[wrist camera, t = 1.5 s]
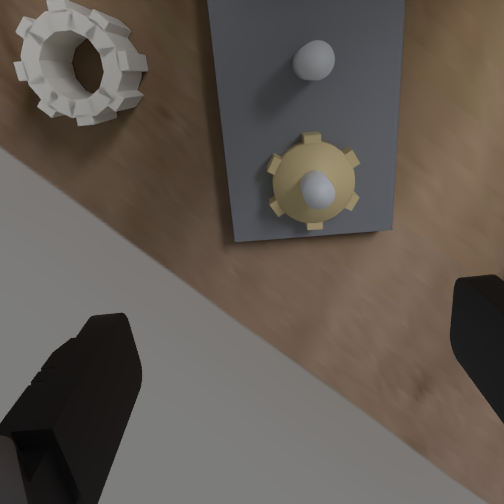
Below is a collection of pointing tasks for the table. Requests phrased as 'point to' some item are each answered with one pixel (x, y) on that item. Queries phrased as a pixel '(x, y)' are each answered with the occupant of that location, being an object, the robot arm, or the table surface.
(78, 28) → the ivory gear
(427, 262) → the table surface
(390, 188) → the gear board
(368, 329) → the table surface
